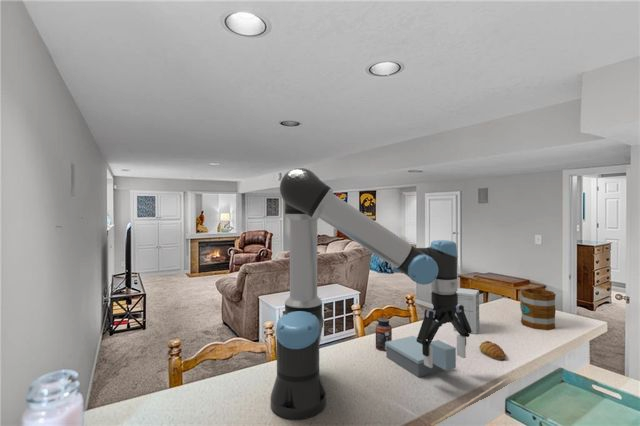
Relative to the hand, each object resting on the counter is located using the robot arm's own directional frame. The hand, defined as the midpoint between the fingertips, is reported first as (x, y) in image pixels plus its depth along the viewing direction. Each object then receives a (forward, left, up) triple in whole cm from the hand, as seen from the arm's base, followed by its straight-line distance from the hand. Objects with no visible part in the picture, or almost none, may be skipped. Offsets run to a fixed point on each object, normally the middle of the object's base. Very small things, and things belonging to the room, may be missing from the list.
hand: (445, 361), depth 104 cm
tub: (0, +13, -6) cm, 14 cm away
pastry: (+30, +7, -7) cm, 32 cm away
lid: (0, +9, -1) cm, 9 cm away
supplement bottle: (-2, +28, -7) cm, 29 cm away
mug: (+77, +21, -7) cm, 80 cm away
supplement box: (+43, +29, -7) cm, 52 cm away
